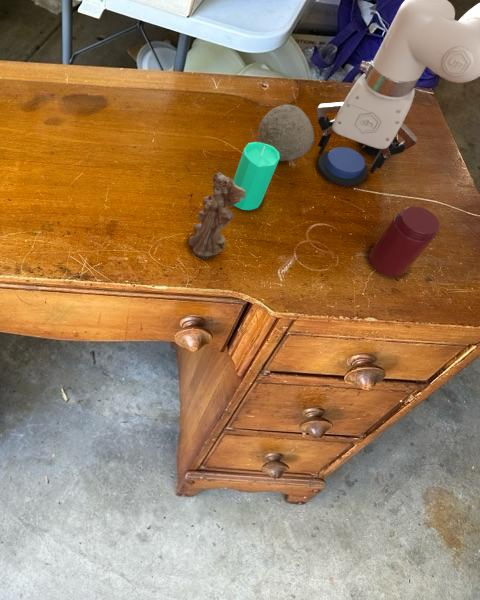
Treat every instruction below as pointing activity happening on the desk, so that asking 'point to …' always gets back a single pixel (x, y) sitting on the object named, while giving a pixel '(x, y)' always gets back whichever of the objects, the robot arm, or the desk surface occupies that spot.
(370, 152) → the tape measure
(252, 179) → the candle
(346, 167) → the jam lid
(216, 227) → the figurine
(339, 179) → the coaster
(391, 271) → the jam jar
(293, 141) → the decorative stone
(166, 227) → the desk surface
